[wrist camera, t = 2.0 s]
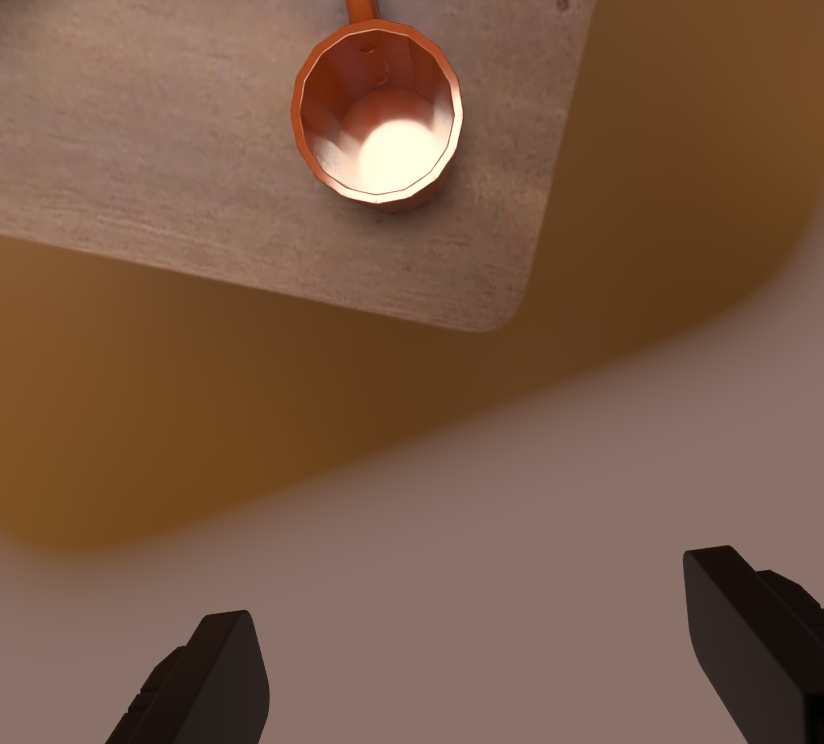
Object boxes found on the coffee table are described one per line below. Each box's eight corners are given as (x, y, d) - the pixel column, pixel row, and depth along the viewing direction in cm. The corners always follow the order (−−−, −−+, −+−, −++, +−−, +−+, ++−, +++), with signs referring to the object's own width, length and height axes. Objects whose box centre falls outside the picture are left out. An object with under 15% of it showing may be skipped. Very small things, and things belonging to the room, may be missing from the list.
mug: (464, 200, 35) (474, 186, 25) (345, 222, 35) (311, 216, 26) (428, -31, 32) (424, -147, 23) (301, -4, 33) (245, -106, 23)
